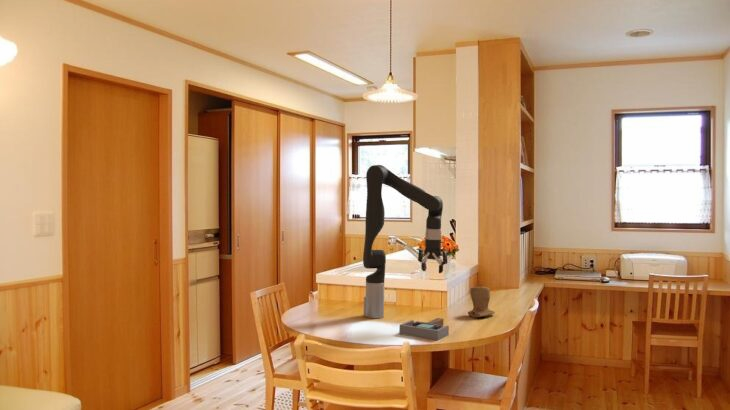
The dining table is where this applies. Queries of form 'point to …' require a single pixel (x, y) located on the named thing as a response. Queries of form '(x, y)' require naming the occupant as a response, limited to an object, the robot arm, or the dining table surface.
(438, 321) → the long-handled tray
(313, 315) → the dining table surface
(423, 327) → the teal square block
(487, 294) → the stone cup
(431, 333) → the box
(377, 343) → the dining table surface
